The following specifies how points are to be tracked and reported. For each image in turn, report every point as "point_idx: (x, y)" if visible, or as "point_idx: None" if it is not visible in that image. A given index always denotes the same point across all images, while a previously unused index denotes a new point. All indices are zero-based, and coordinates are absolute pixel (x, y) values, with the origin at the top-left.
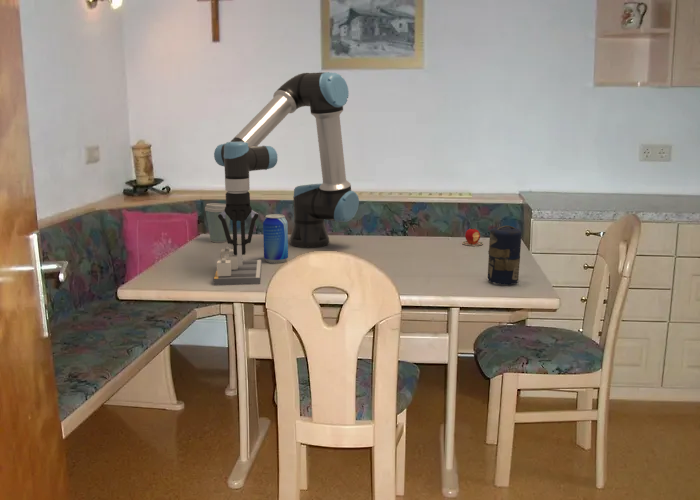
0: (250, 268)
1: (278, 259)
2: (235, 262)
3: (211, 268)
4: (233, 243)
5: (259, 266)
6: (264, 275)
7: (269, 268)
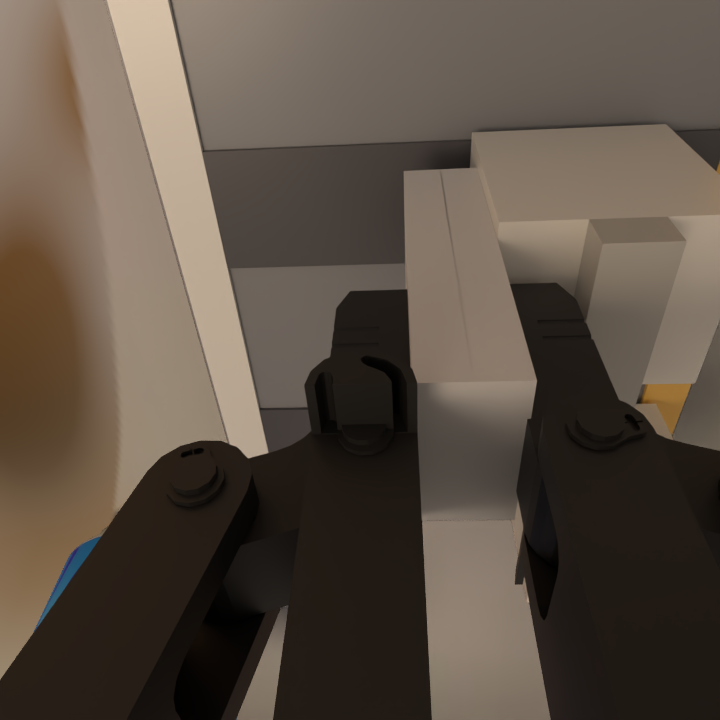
0: (296, 209)
1: None
2: (518, 174)
3: (713, 427)
4: (646, 432)
5: (199, 291)
6: (130, 136)
7: (162, 394)
